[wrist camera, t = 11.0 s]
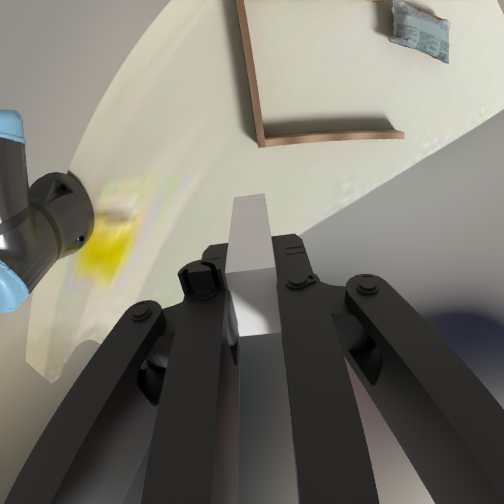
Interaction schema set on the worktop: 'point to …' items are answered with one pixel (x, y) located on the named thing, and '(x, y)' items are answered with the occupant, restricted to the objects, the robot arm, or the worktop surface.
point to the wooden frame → (300, 136)
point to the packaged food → (420, 31)
